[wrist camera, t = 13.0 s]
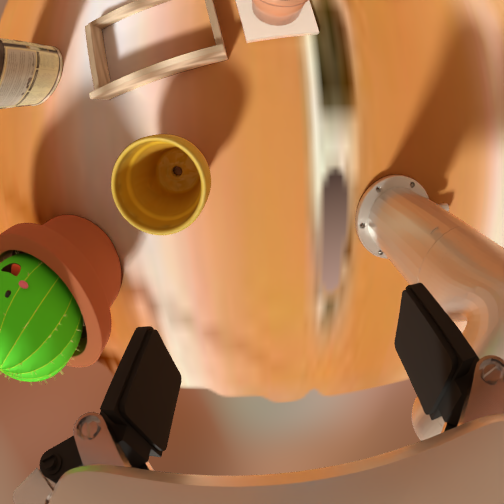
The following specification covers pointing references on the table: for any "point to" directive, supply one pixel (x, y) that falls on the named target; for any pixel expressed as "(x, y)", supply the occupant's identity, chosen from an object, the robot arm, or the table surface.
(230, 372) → the table surface
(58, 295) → the potted cactus
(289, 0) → the terracotta pot
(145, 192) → the plant pot
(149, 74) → the frame
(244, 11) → the stone tile
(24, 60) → the coffee can
